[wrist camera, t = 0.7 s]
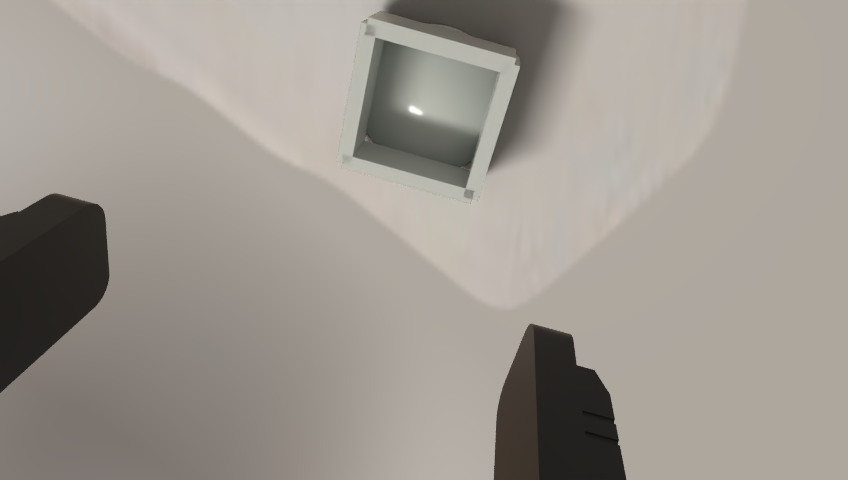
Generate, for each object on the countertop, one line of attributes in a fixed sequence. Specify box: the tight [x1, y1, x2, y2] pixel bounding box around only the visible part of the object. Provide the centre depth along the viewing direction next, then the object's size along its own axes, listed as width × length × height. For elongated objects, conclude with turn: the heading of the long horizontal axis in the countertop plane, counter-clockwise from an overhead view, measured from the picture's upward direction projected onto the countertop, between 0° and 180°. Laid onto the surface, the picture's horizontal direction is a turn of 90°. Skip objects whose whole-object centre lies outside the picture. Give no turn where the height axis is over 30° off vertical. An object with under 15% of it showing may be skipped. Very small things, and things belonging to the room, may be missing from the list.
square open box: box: [337, 11, 520, 204], centre depth 30 cm, size 8×8×4 cm
